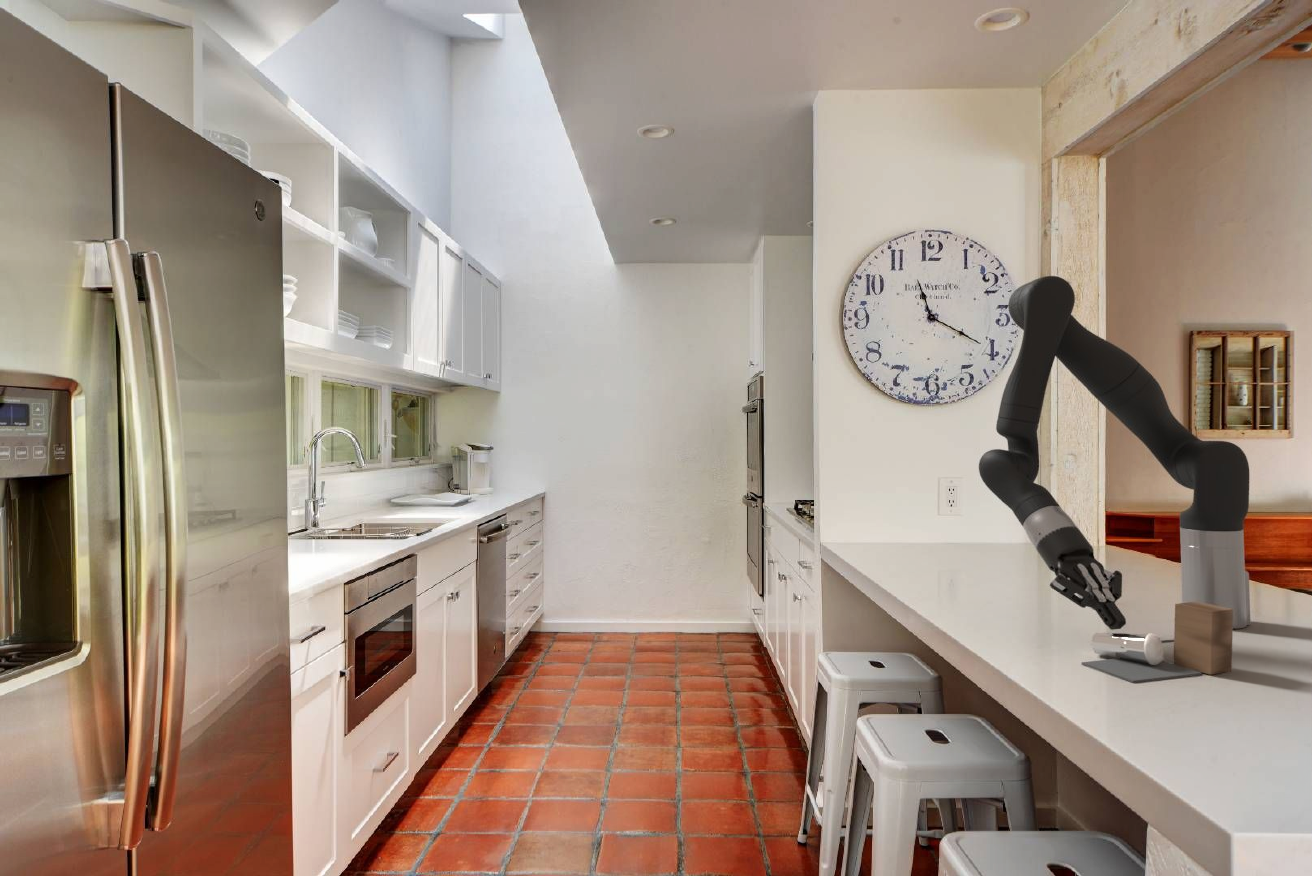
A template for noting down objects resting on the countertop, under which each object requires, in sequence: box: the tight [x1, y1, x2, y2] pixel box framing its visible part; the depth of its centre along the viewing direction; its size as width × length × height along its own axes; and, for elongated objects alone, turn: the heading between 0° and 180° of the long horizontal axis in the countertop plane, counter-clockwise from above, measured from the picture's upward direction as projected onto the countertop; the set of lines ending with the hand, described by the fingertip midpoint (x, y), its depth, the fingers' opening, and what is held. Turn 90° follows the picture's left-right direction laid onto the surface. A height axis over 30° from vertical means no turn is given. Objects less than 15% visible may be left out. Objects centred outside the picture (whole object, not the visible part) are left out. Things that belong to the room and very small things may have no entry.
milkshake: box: [1090, 632, 1174, 665], centre depth 111 cm, size 4×5×10 cm
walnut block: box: [1173, 602, 1233, 675], centre depth 107 cm, size 5×5×9 cm
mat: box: [1081, 657, 1203, 684], centre depth 107 cm, size 12×9×1 cm
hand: (1119, 626), depth 113 cm, fingers closed
